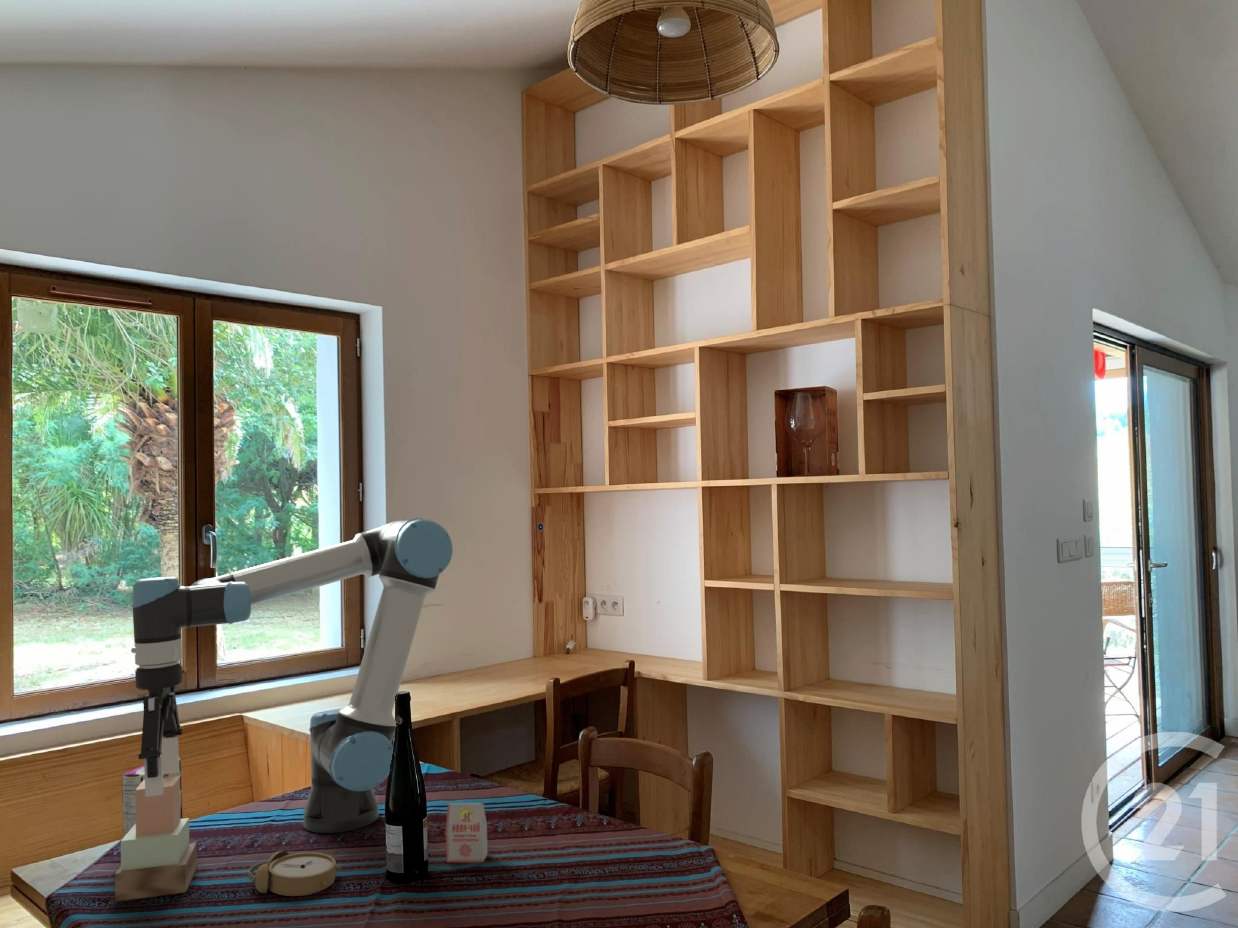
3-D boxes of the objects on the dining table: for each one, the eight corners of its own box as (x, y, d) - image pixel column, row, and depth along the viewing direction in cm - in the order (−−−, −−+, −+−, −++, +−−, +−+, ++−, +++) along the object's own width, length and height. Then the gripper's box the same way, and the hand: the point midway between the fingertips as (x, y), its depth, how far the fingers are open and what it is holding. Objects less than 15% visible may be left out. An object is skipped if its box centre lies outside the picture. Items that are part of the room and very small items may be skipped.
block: (180, 820, 167) (179, 776, 167) (173, 831, 161) (172, 785, 161) (144, 824, 165) (143, 779, 166) (135, 836, 159) (135, 789, 160)
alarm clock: (324, 879, 155) (238, 865, 156) (320, 908, 155) (233, 894, 155) (346, 854, 166) (265, 841, 167) (342, 881, 166) (261, 868, 167)
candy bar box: (162, 839, 185) (160, 756, 186) (184, 840, 184) (182, 757, 185) (121, 860, 174) (120, 773, 175) (144, 862, 173) (143, 774, 174)
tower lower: (197, 869, 169) (196, 842, 170) (185, 893, 159) (185, 864, 159) (131, 878, 166) (130, 850, 167) (115, 903, 156) (114, 873, 156)
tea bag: (452, 854, 172) (450, 800, 172) (487, 854, 171) (485, 799, 171) (446, 862, 168) (445, 806, 168) (482, 862, 167) (481, 806, 168)
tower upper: (189, 845, 168) (189, 817, 168) (178, 863, 159) (177, 834, 160) (135, 851, 166) (135, 823, 166) (121, 870, 157) (120, 840, 157)
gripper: (151, 655, 176) (155, 766, 175) (117, 679, 152) (121, 808, 151) (193, 651, 178) (198, 761, 177) (166, 674, 154) (171, 802, 153)
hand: (163, 783), depth 164 cm, fingers open, 13 cm apart
